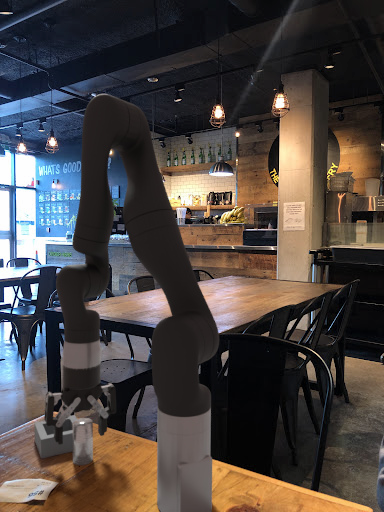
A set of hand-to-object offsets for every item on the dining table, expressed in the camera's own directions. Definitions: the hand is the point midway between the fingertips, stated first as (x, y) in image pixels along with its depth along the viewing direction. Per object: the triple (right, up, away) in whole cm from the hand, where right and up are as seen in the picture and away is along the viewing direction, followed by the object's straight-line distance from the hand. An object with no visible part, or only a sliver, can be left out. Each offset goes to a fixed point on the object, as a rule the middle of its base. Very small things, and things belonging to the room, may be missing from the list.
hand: (81, 438), depth 87 cm
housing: (-7, -4, +6) cm, 10 cm away
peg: (0, -4, 0) cm, 4 cm away
